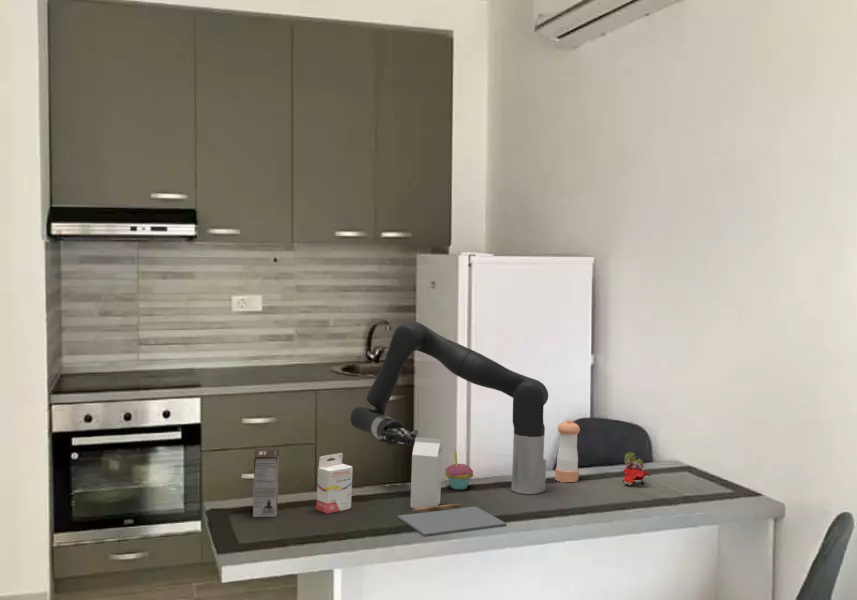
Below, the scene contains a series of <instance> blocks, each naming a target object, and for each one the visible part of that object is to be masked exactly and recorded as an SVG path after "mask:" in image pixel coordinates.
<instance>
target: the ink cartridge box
mask: <svg viewBox="0 0 857 600" xmlns="http://www.w3.org/2000/svg"><path fill="white" fill-rule="evenodd" d="M343 456H344V454H343V453H342V452H339V453H334V454H332V453H331V454H327V455H321V456H319V457H318V468H317V482H316V483H317V486H316V510H317V511H319V512H322V513H324V514H327V515H328V514H332V513H337V512H342V511H345V510H350V508H352V495H353V494H352V491H353V470H354V468H353V466H351V465H348V464H345V463H343ZM329 459H332V460H329ZM328 460H329V461H328Z"/></svg>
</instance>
